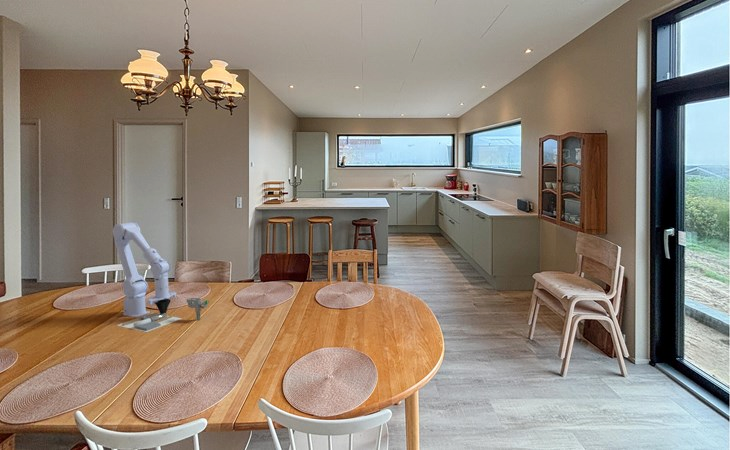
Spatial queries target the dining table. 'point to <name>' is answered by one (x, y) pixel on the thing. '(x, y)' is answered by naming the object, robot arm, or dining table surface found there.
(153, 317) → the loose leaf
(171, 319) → the hinge jig
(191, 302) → the mechanical component
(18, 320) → the dining table surface
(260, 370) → the dining table surface
